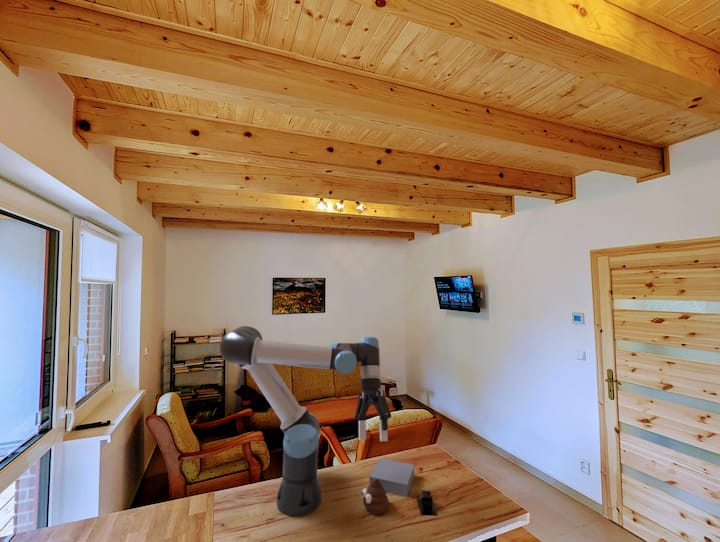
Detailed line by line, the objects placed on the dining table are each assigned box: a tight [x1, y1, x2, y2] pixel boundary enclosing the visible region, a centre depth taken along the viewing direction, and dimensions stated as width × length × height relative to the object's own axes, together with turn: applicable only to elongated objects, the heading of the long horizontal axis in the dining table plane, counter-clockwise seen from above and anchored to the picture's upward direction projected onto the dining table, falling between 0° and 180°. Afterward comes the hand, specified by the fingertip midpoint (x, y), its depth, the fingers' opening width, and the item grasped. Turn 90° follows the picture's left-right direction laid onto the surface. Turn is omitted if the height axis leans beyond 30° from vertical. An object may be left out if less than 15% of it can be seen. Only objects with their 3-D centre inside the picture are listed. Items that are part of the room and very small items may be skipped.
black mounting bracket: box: [416, 490, 439, 517], centre depth 112 cm, size 12×7×5 cm, turn 179°
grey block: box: [368, 457, 415, 497], centre depth 126 cm, size 14×14×4 cm
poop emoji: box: [361, 479, 390, 516], centre depth 112 cm, size 10×8×9 cm
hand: (372, 440), depth 118 cm, fingers open, 13 cm apart
